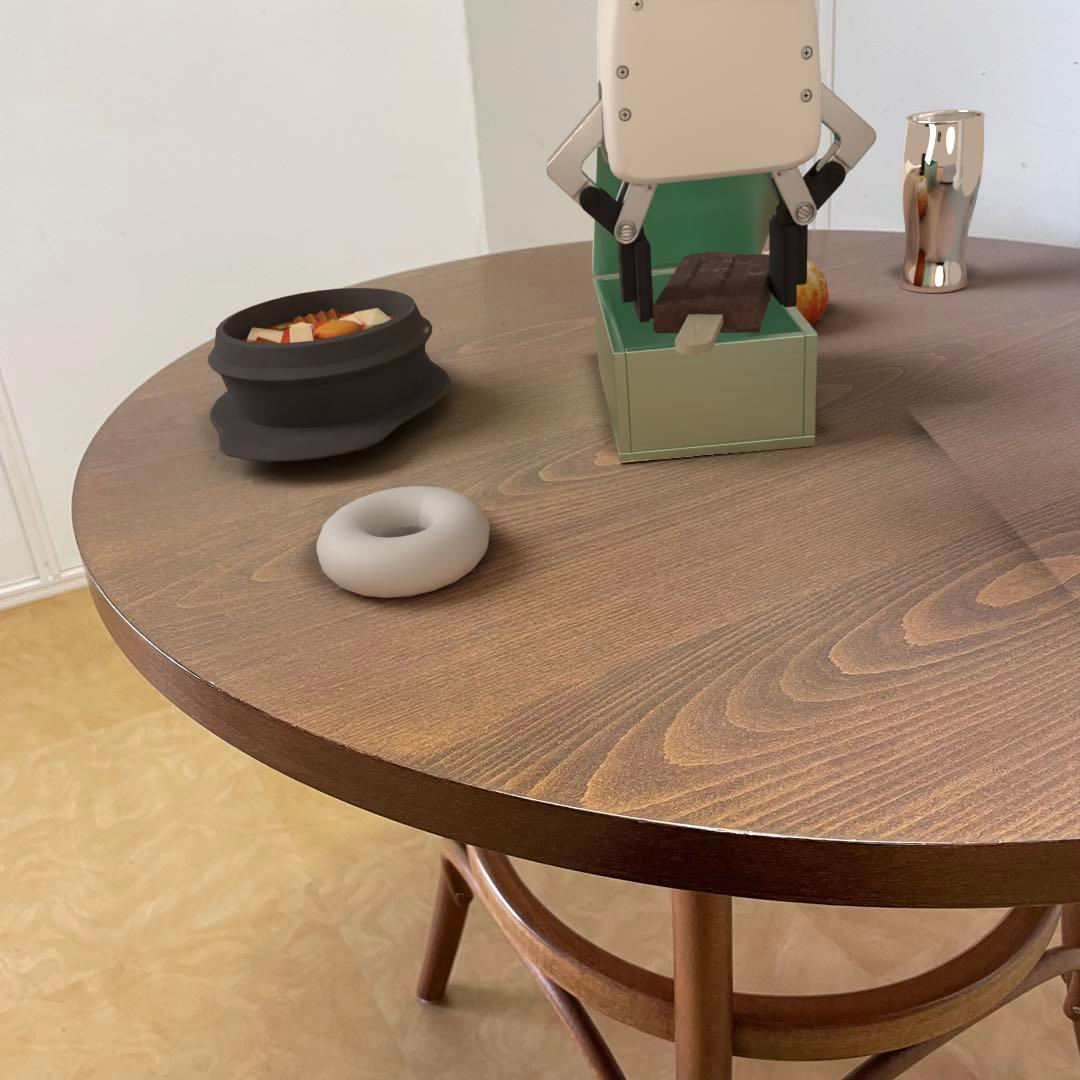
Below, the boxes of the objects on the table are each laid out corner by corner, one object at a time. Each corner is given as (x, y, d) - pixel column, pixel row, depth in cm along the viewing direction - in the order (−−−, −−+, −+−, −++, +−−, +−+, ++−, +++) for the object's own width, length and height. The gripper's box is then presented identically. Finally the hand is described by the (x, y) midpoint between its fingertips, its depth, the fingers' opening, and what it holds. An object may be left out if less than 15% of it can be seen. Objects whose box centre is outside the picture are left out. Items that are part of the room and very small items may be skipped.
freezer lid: (810, 125, 69) (799, 47, 70) (597, 146, 69) (589, 68, 70) (759, 260, 89) (751, 197, 89) (592, 276, 89) (586, 213, 90)
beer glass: (883, 291, 105) (891, 122, 98) (908, 272, 110) (918, 109, 103) (959, 297, 101) (973, 121, 95) (981, 277, 106) (997, 108, 99)
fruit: (813, 342, 93) (786, 249, 90) (701, 367, 99) (672, 280, 96) (851, 301, 101) (827, 214, 98) (745, 326, 107) (720, 245, 105)
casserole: (429, 477, 77) (412, 359, 73) (165, 493, 78) (134, 378, 74) (470, 358, 99) (458, 262, 95) (263, 372, 100) (243, 279, 96)
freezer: (815, 446, 75) (818, 333, 72) (620, 464, 76) (613, 353, 72) (758, 356, 92) (758, 261, 89) (599, 371, 93) (592, 277, 89)
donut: (297, 610, 62) (472, 609, 60) (284, 556, 61) (462, 553, 59) (354, 527, 71) (508, 524, 69) (344, 477, 70) (501, 473, 68)
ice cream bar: (749, 367, 51) (778, 278, 64) (748, 332, 50) (778, 249, 63) (634, 367, 52) (685, 280, 65) (632, 333, 52) (684, 252, 64)
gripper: (875, -109, 53) (860, 271, 61) (505, -69, 53) (541, 304, 61) (929, -118, 46) (905, 310, 54) (507, -72, 46) (547, 347, 55)
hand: (712, 304), depth 58 cm, fingers closed on ice cream bar, 6 cm apart
